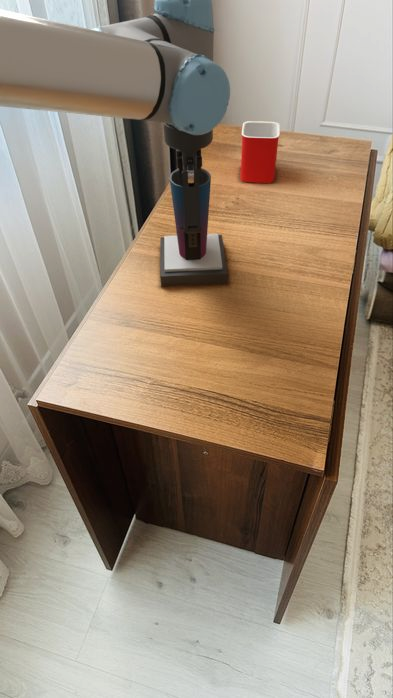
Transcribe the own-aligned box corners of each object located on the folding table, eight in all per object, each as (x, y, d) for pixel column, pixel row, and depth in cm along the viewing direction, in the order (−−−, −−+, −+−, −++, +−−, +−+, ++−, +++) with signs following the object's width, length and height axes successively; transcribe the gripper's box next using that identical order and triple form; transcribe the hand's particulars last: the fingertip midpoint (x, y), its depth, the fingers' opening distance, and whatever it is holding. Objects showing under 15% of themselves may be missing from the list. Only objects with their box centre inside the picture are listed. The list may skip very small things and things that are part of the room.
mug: (274, 184, 114) (279, 138, 106) (238, 182, 115) (240, 137, 107) (275, 159, 122) (280, 115, 114) (242, 158, 123) (244, 114, 115)
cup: (217, 248, 93) (218, 173, 82) (198, 267, 89) (196, 191, 78) (187, 237, 96) (184, 163, 85) (167, 255, 92) (161, 180, 81)
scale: (161, 286, 90) (160, 273, 88) (161, 247, 99) (160, 234, 96) (227, 283, 91) (227, 270, 88) (221, 244, 99) (221, 232, 97)
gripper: (218, 149, 67) (217, 279, 83) (208, 86, 82) (208, 205, 98) (162, 152, 66) (172, 281, 83) (162, 87, 82) (170, 207, 98)
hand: (191, 240), depth 91 cm, fingers open, 10 cm apart
